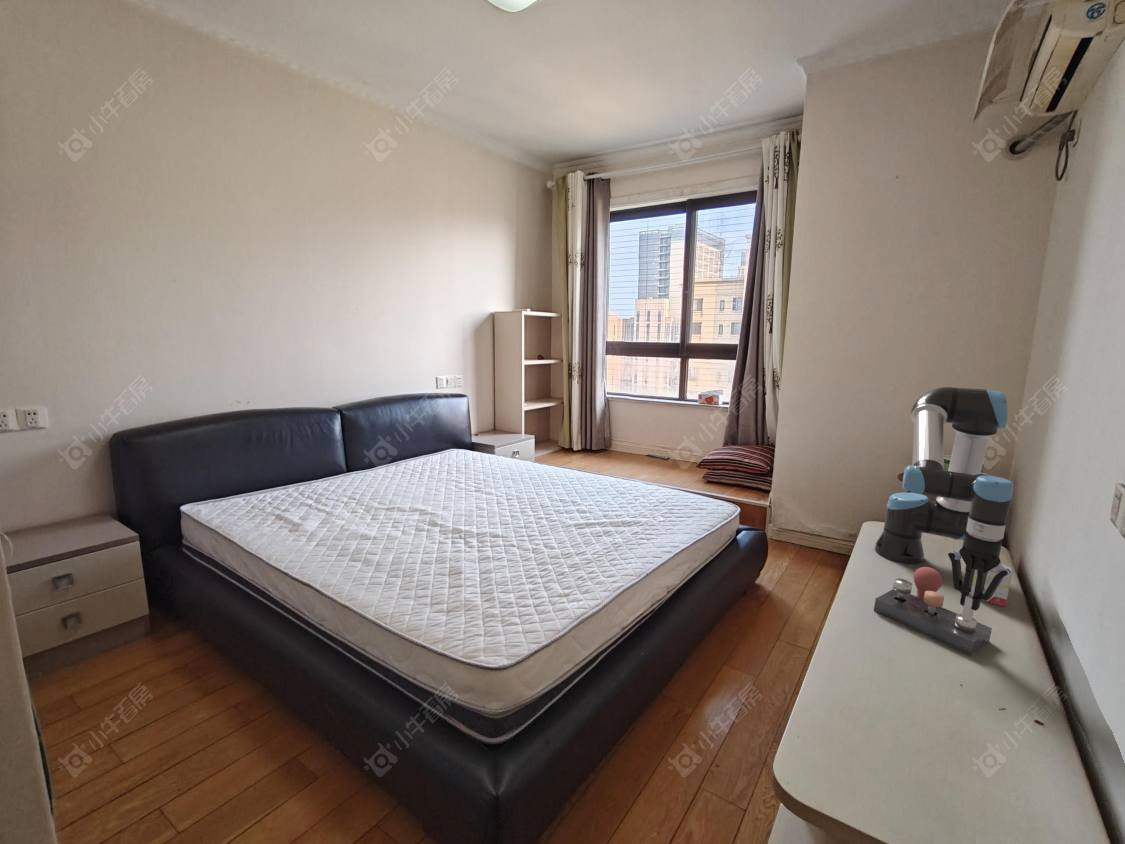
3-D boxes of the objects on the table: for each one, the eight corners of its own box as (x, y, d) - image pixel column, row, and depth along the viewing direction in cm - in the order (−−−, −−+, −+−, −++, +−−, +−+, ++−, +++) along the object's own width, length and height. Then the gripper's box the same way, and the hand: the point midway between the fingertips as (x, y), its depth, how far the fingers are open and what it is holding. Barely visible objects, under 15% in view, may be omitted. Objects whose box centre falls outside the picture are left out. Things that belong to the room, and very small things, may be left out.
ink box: (1006, 601, 157) (1014, 566, 155) (1005, 607, 154) (1013, 571, 152) (971, 591, 163) (978, 557, 161) (969, 596, 160) (976, 562, 157)
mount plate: (893, 599, 157) (895, 587, 156) (989, 641, 137) (992, 628, 136) (873, 610, 150) (875, 598, 150) (970, 656, 131) (973, 642, 130)
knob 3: (956, 632, 140) (960, 612, 139) (975, 640, 136) (979, 620, 135) (949, 637, 138) (953, 617, 136) (968, 645, 134) (973, 625, 133)
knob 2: (925, 608, 146) (929, 589, 145) (943, 615, 142) (947, 596, 141) (918, 612, 144) (921, 593, 142) (936, 620, 140) (939, 600, 139)
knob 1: (895, 595, 152) (898, 577, 151) (911, 602, 149) (915, 583, 148) (888, 599, 150) (891, 580, 149) (904, 606, 147) (907, 587, 145)
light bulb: (942, 612, 150) (949, 575, 148) (915, 609, 152) (922, 572, 149) (930, 600, 157) (936, 564, 155) (904, 597, 158) (911, 561, 156)
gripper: (948, 529, 134) (932, 610, 139) (1010, 548, 124) (991, 635, 128) (960, 524, 138) (944, 603, 143) (1021, 542, 128) (1002, 626, 132)
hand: (966, 618), depth 136 cm, fingers closed
